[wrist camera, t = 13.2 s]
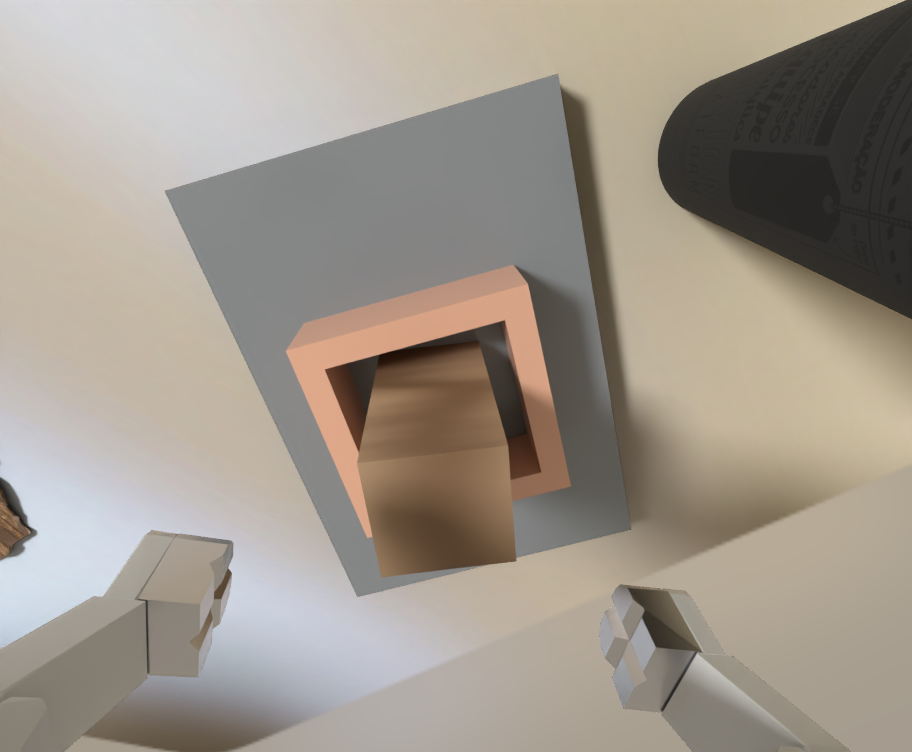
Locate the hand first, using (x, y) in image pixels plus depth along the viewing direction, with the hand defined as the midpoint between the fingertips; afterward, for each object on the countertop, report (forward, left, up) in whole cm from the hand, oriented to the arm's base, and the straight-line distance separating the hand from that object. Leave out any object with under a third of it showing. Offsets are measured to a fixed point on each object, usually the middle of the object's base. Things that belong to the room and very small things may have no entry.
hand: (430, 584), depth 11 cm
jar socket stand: (0, -1, -13) cm, 13 cm away
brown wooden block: (0, -1, -12) cm, 11 cm away
